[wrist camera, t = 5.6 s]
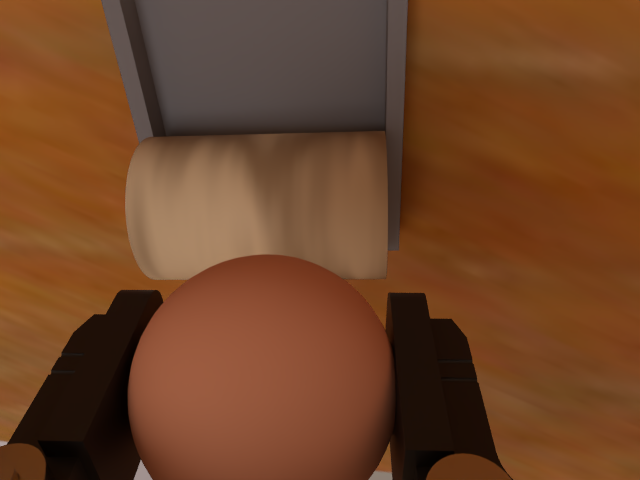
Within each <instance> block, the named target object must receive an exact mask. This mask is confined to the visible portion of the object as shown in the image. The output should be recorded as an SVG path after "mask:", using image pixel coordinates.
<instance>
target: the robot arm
mask: <svg viewBox="0 0 640 480" xmlns="http://www.w3.org/2000/svg"><path fill="white" fill-rule="evenodd" d="M162 304H163V299H162V296H161V294H160V292H159V291H158V290H121V291H119V292H118V293H117V295H116V297H115V298H114V300H113V302H112V304H111V306H110V308H109V309H108V311H107V313H106V315H103V314H94V315H93V316H92V317H91V318H90V319H88V320H87V321H86V322H85V323H84V324H83V325H81V326H80V327H79V328H78V329H77V330H76V331H75V332H74V333H73V334H72V336H71V338H70V339H69V341H68V343H67V344H66V346H65V348H64V349H63V351H62V356H61V357H59V358H58V360H57V361H56V363H55V365H54V366H53V368H52V370H51V375H48V376H47V378H46V380H45V382H44V383H43V385H42V387H41V388H40V390H39V392H38V393H37V395H36V397H35V398H34V400H33V402H32V403H31V405H30V407H29V408H28V410H27V412H26V414H25V415H24V417H23V419H22V420H21V422H20V424H19V425H18V427H17V429H16V430H15V432H14V434H13V435H12V437H11V439H10V440H9V442H8V443H7V445H4V446H1V447H0V480H134V477H135V474H136V471H137V469H138V465H139V463H140V460H141V458H140V456H139V454H138V451H137V448H136V446H135V443H134V440H133V436H132V432H131V428H130V422H129V416H128V383H129V376H130V370H131V364H132V360H133V357H134V354H135V352H136V349H137V346H138V343H139V341H140V338H141V336H142V334H143V332H144V330H145V328H146V327H147V325H148V323H149V322H150V320H151V318H152V317H153V315H154V314H155V312H156V311H157V310H158V309H159V307H160V306H161V305H162ZM386 333H387V336H388V338H389V341H390V344H391V346H392V349H393V355H394V365H395V387H396V409H395V423H394V429H393V432H392V435H391V438H390V451H391V464H392V477H393V480H513V479H512V478H511V477H510V476H509V475H508V474H507V472H506V471H505V469H504V468H503V466H502V465H501V463H500V461H499V459H498V456H497V453H496V450H495V446H494V442H493V438H492V434H491V430H490V426H489V422H488V418H487V415H486V411H485V407H484V403H483V399H482V395H481V391H480V387H479V383H477V376H476V372H475V368H474V364H473V363H472V356H471V352H470V348H469V344H468V341H467V337H466V336H465V335H464V334H463V333H462V331H461V330H460V329H459V328H458V326H457V325H456V324H455V323H454V321H453V320H452V319H430V316H429V311H428V306H427V300H426V296H425V294H424V293H388V300H387V315H386Z"/></svg>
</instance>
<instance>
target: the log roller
mask: <svg viewBox="0 0 640 480" xmlns="http://www.w3.org/2000/svg"><path fill="white" fill-rule="evenodd" d="M125 211H126V223H127V230H128V236H129V241H130V245H131V248H132V251H133V254H134V257H135V259H136V261H137V264H138V265H139V267H140V269H141V270H142V272H143V273H144V274H145V275H146V276H147V277H149V278H151V279H155V280H189V279H190V278H192V277H193V276H195V275H197V274H198V273H200V272H202V271H204V270H205V269H207V268H209V267H211V266H214V265H216V264H219V263H221V262H224V261H227V260H231V259H234V258H239V257H245V256H251V255H262V254H272V255H284V256H290V257H296V258H299V259H303V260H307V261H309V262H312V263H314V264H317V265H320V266H321V267H323V268H325V269H327V270H329V271H331V272H333V273H335V274H336V275H338V276H339V277H341V278H342V279H386V274H387V252H388V178H387V149H386V135H385V131H360V132H322V133H283V134H244V135H206V136H167V137H148V138H146V139H144V140H143V141H142V142H141V143H140V144H139V145H138V147H137V148H136V150H135V152H134V154H133V157H132V159H131V162H130V166H129V170H128V176H127V183H126V196H125Z"/></svg>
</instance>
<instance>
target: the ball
mask: <svg viewBox="0 0 640 480" xmlns="http://www.w3.org/2000/svg"><path fill="white" fill-rule="evenodd" d="M395 409H396V387H395V365H394V355H393V349H392V346H391V344H390V341H389V338H388V336H387V333H386V331H385V329H384V327H383V325H382V323H381V322H380V320H379V318H378V317H377V315H376V314H375V312H374V310H373V309H372V307H371V306H370V305H369V303H368V302H367V301H366V300H365V299H364V298H363V296H362V295H361V294H360V293H359V292H358V291H357V290H356V289H354V288H353V287H352V286H351V285H350V284H349V283H348V282H346V281H345V280H344V279H342V278H341V277H339V276H338V275H336V274H335V273H333V272H331V271H329V270H327V269H325V268H323V267H321V266H320V265H317V264H314V263H312V262H309V261H307V260H303V259H299V258H296V257H290V256H284V255H272V254H262V255H251V256H245V257H239V258H234V259H231V260H227V261H224V262H221V263H219V264H216V265H214V266H211V267H209V268H207V269H205V270H204V271H202V272H200V273H198V274H197V275H195V276H193V277H192V278H190V279H189V280H187V281H186V282H185V283H184V284H182V285H181V286H180V287H179V288H178V289H176V290H175V291H174V292H173V293H172V294H171V295H170V296H169V297H168V298H167V299H166V300H165V301H164V302H163V304H162V305H161V306H160V307H159V309H158V310H157V311H156V312H155V314H154V315H153V317H152V318H151V320H150V322H149V323H148V325H147V327H146V328H145V330H144V332H143V334H142V336H141V338H140V341H139V343H138V346H137V349H136V352H135V354H134V357H133V360H132V364H131V370H130V376H129V383H128V416H129V422H130V428H131V432H132V436H133V440H134V443H135V446H136V448H137V451H138V454H139V456H140V458H141V460H142V462H143V464H144V466H145V468H146V469H147V471H148V473H149V474H150V476H151V478H152V479H153V480H368V479H369V478H370V477H371V475H372V474H373V472H374V471H375V469H376V468H377V466H378V465H379V463H380V461H381V459H382V457H383V455H384V453H385V451H386V449H387V446H388V444H389V442H390V438H391V435H392V432H393V429H394V423H395Z"/></svg>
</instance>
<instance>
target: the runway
mask: <svg viewBox="0 0 640 480" xmlns="http://www.w3.org/2000/svg"><path fill="white" fill-rule="evenodd" d="M101 1H102V5H103V9H104V12H105V16H106V20H107V24H108V27H109V31H110V35H111V39H112V42H113V46H114V50H115V54H116V58H117V61H118V65H119V69H120V73H121V76H122V80H123V84H124V88H125V91H126V95H127V99H128V103H129V106H130V110H131V114H132V118H133V121H134V125H135V129H136V133H137V136H138V140H139V144H140V143H141V142H142V141H143V140H144V139H146V138H148V137H167V136H206V135H244V134H283V133H322V132H360V131H385V135H386V149H387V178H388V250H399V230H400V203H401V175H402V148H403V120H404V93H405V65H406V38H407V10H408V0H101Z"/></svg>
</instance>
